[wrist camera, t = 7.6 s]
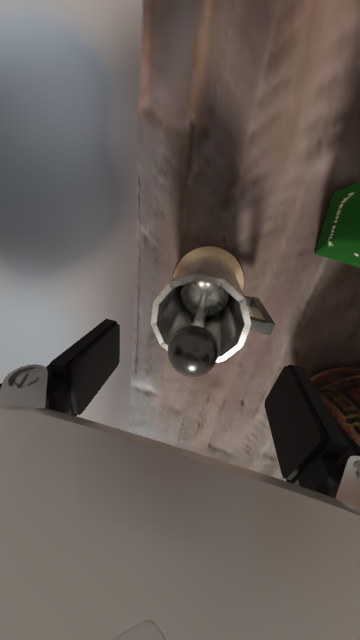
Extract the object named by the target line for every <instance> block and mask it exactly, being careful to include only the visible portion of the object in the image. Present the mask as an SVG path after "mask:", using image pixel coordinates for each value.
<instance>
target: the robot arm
mask: <svg viewBox="0 0 360 640" xmlns="http://www.w3.org/2000/svg"><path fill="white" fill-rule="evenodd" d="M119 337H120V326H119V325H118V324H117V322H116V321H113V320H109V319H106V320H104V321H103V322H102V323H100V324H99V325H98V326H97V327H95V328H94V329H93V330H92V331H90V332H89V333H88V334H86V335H85V336H84V337H82V338H81V339H80V340H79V341H77V342H76V343H75V344H73V345H72V346H71V347H70V348H68V349H67V350H66V351H65V352H63V353H62V354H61V355H59V356H58V357H57V358H56V359H54V360H53V361H52V362H51V363H50V364H49V365H48V366H47V367H45V366H42V365H36V364H35V365H27V366H24V367H20V368H18V369H16V370H14V371H12V372H11V373H9V374H8V375H7V376H6V377H5V379H4V381H3V383H2V384H0V640H360V456H352V455H351V453H350V452H349V449H350V446H349V444H348V442H347V441H346V439H345V437H344V436H343V434H342V432H341V431H340V429H339V427H338V426H337V424H336V422H335V421H334V419H333V417H332V416H331V414H330V412H329V411H328V409H327V407H326V406H325V404H324V402H323V401H322V399H321V397H320V396H319V394H318V392H317V391H316V389H315V387H314V386H313V384H312V382H311V380H310V379H309V377H308V375H307V374H306V372H305V370H304V369H303V368H302V367H298V366H294V365H288V366H285V367H284V368H283V370H282V372H281V373H280V375H279V377H278V379H277V380H276V382H275V384H274V386H273V387H272V389H271V391H270V393H269V395H268V396H267V398H266V400H265V409H266V413H267V417H268V421H269V425H270V429H271V433H272V437H273V441H274V445H275V449H276V453H277V457H278V461H279V465H280V469H281V473H282V476H283V477H284V478H285V479H286V481H287V482H286V481H283V480H280V479H277V478H274V477H271V476H268V475H265V474H261V473H258V472H255V471H252V470H249V469H246V468H242V467H239V466H236V465H233V464H230V463H227V462H223V461H220V460H217V459H214V458H211V457H208V456H204V455H201V454H198V453H195V452H191V451H188V450H185V449H182V448H179V447H175V446H172V445H169V444H166V443H162V442H159V441H156V440H153V439H150V438H146V437H143V436H140V435H136V434H133V433H130V432H126V431H123V430H120V429H117V428H113V427H110V426H107V425H104V424H100V423H97V422H94V421H90V420H87V419H83V418H79V417H76V416H77V415H80V414H81V413H82V412H83V411H84V410H85V408H86V407H87V406H88V404H89V403H90V402H91V400H92V399H93V398H94V396H95V395H96V394H97V392H98V391H99V390H100V389H101V387H102V386H103V384H104V383H105V382H106V381H107V379H108V378H109V376H110V375H111V374H112V373H113V371H114V370H115V369H116V367H117V366H118V364H119V353H120V350H119V349H120V346H119V345H120V338H119Z"/></svg>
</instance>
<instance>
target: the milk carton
mask: <svg viewBox="0 0 360 640" xmlns="http://www.w3.org/2000/svg"><path fill="white" fill-rule="evenodd" d="M315 254H318V255H321V256H324V257H327V258H330V259H333V260H336V261H339V262H342V263H346V264H349V265H352V266H356V267H359V268H360V182H358V183H356V184H353V185H351V186H348V187H346V188H343V189H340V190H338V191H335V192H333V194H332V197H331V201H330V204H329V207H328V211H327V214H326V217H325V221H324V224H323V227H322V230H321V234H320V237H319V240H318V244H317V247H316V250H315Z"/></svg>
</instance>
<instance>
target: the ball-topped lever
mask: <svg viewBox="0 0 360 640" xmlns="http://www.w3.org/2000/svg"><path fill="white" fill-rule="evenodd" d="M181 296H182V300H183V303H184V305H185V306H186V308H187V309H188V310H189V311H191V312H192V313H194V314H196V315H195V319H194V323H193V325H189V326H185V327H182V328H180V329H179V330H177V331H176V332H175V333H174V334H173V336H172V337H171V339H170V341H169V344H168V358H169V360H170V363H171V365H172V366H173V367H174V368H175V370H177V371H178V372H179V373H181V374H183V375H185V376H189V377H198V376H202V375H204V374H206V373H208V372H209V371H210V370H211V369H212V368H213V367H214V365H215V364H216V362H217V359H218V354H219V348H218V343H217V341H216V339H215V337H214V336H213V334H212V333H211V332H210V331H208V330H207V329H205V328H203V326H204V319H205V316H212V315H215V314H217V313H218V312H220V311H221V310H222V309H223V308H224V307H225V306H226V304H227V302H228V299H229V293H228V292H227V291H226V290H225V289H224V288H223V287H222V286H220V285H215V284H211V283H206V282H201V281H193V282H189V283H186V284H183V286H182V291H181Z"/></svg>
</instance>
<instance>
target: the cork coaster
mask: <svg viewBox="0 0 360 640" xmlns="http://www.w3.org/2000/svg"><path fill="white" fill-rule="evenodd" d="M203 256H214V257H217V258H220V259H222V260H223V261H225V262H226V263H227V264H228V265H229V266H230V268H232V269H233V271H234V274H235V276H236V278H237V281H238V283H239V285H240V288H241V290H242V289H243V284H244V277H243V272H242V269H241V266H240V264H239V263H238V261H237V260H236V259H235V257H234V256H233V255H231V254H230V253H229V252H227V251H226V250H223V249H221V248H218V247H212V246H206V247H200V248H197V249H195V250H192V251H191V252H189V253H187V254H186V255H185V256H184V257H183V258H182V259H181V260H180V262H179V263H178V265H177V267H176V269H175V271H174V275H173V278H174V277H175V276H176V275H177V274H178V273H179V272H180V271H181V270H182V269H183V268H184V267H185V266H186V265H187V264H188V263H189V262H190V261H192V260H195V259H197V258H199V257H203Z"/></svg>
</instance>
